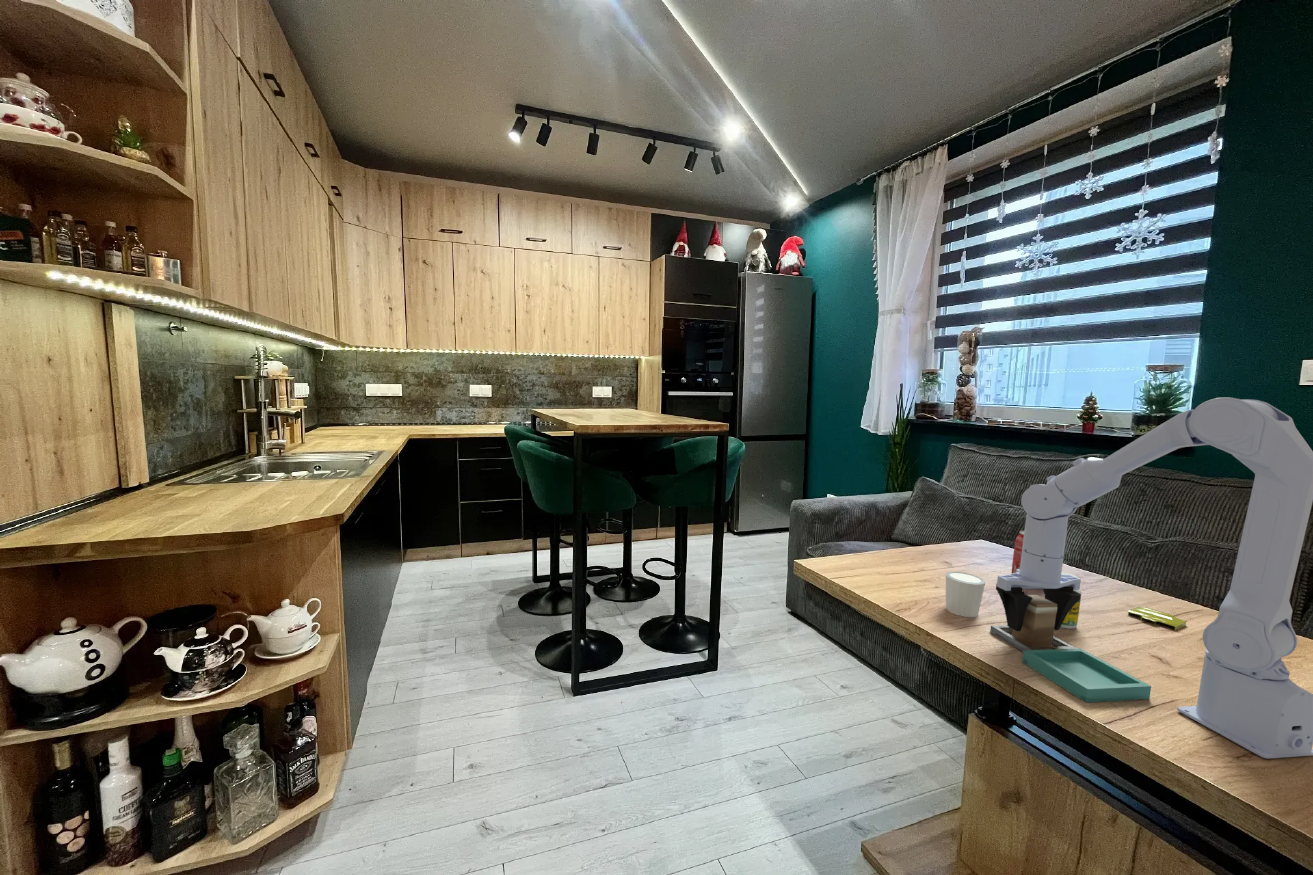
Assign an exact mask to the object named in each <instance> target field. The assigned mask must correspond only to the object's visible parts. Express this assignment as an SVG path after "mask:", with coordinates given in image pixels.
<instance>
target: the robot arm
mask: <svg viewBox="0 0 1313 875" xmlns="http://www.w3.org/2000/svg"><path fill="white" fill-rule="evenodd" d="M1199 446H1211V447H1214V448H1216V449H1219V450H1221V451H1224V452H1225V453H1228V454H1231V455H1232V457H1234V458H1235V459H1236V460H1238V461H1239V462H1240V463H1242V464H1243V465H1244V466H1245V467H1247V468H1248V469H1249V470H1251V472H1253V473H1254V480H1253V484H1252V488H1251V493H1250V498H1249V501H1248V507H1247V511H1246V516H1245V520H1244V524H1243V527H1242V533H1241V538H1240V542H1239V547H1238V551H1237V556H1236V560H1235V565H1234V570H1233V575H1232V578H1231V584H1230V587H1229V591H1228V592H1227V594H1226V596H1225V598H1224V600H1223V601H1222V603H1221V604H1220V607H1219V610H1218V613H1217V617H1216V618H1215V619H1214V620H1213V621H1212V622H1210V623H1209V624H1207V625H1206V627H1205V628H1204V630H1203V632H1202V642H1203V645H1204V647H1205V653H1204V660H1203V663H1202V670H1201V677H1200V684H1199V689H1198V695H1197V701H1196V705H1191V706H1190V705H1189V706H1186V705H1185V706H1178V707H1176V708H1177V709H1176V710H1177V711H1178V712H1179V713H1181V714H1183V715H1184V716H1186V717H1188V718H1190V719H1192V720H1193V721H1194V722H1195V721H1196V722H1198V723H1199V724H1201V725H1203V727H1206V728H1208V729H1210V730H1212V731H1213V732H1215V733H1217V734H1219V735H1220V736H1223V737H1225V738H1227V739H1228V740H1230V741H1232V742H1233V743H1235V744H1236V745H1239V746H1241V747H1242V748H1244V749H1246V750H1248V751H1249V752H1252V753H1254V754H1255V755H1257V756H1259V757H1261V758H1264V759H1267V760H1268V759H1281V758H1293V757H1294V758H1295V757H1306V756H1313V693H1311V692H1310V691H1308V690H1306V689H1304V688H1302V687H1301V686H1299V685H1297V684H1296V683H1295V682H1293V681H1292V679H1290V675H1291V674H1290V671H1289V670H1288V667H1287V666H1286V665H1285V662H1284V661H1283V660H1282V658H1285V657H1286V656H1289V655H1291V654H1293V653H1294V652H1295V650H1296V648H1297V646H1298V636H1297V634H1296V632H1295V629H1294V627H1293V625H1292V617H1293V616H1292V614H1293V608H1292V605H1291V603H1290V599H1291V596H1292V595H1291V594H1292V590H1293V585H1294V582H1295V577H1296V573H1297V569H1298V564H1299V560H1300V556H1301V553H1302V552H1301V551H1302V547H1303V543H1304V539H1305V535H1306V532H1307V527H1308V523H1309V519H1310V514H1311V511H1312V510H1311V509H1312V506H1313V450H1312V448H1311V447H1310V446H1309V444H1308V443H1307V441H1306V440H1305V438H1304V437H1303V436H1302V434H1301V433H1300V431H1299V430H1298V429H1297V427H1296V425H1295V422H1294V419H1293V418H1292V417H1291V416H1289V415H1288V414H1286V413H1285V412H1283V411H1281V410H1280V409H1278V408H1277V407H1274V406H1273V405H1271V404H1270V403H1268V402H1265V401H1263V400H1258V399H1252V398H1251V399H1250V398H1249V399H1240V398H1235V397H1226V396H1225V397H1216V398H1212V399H1209V400H1206V401H1203V402H1202V403H1201V404H1199V405H1198V406H1196V407H1195V409H1188V410H1185V411H1183V412H1180V413H1178V414H1176V415H1175V416H1173V417H1171V418H1169V419H1168V420H1167V421H1165V422H1163V423H1161V424H1160V425H1158V426H1156V427H1155V428H1153V429H1151V430H1149V431H1148V432H1146V433H1145V434H1143V435H1141V436H1139V437H1138V438H1136V439H1134V440H1133V441H1132V442H1130V443H1128V444H1126V445H1125V446H1123V447H1121V448H1120V449H1118V450H1116V451H1114V452H1113V453H1112V454H1110V455H1108V456H1107V457H1105V458H1101V457H1100V458H1099V457H1092V456H1091V457H1087V458H1082V457H1081V458H1077V459H1075V460H1074V461H1072V463H1071V464H1072V465H1073V466H1071V467H1070V468H1068V469H1066V470H1064V471H1063V472H1061V473H1059V474H1058V475H1050V476H1048V477H1046V484H1044V483H1043V484H1042V483H1039V484H1037V483H1035V484H1031V485H1030V486H1029V487H1028V488H1027V489H1026V490H1024V492H1023V493H1022V495H1021V500H1020V502H1021V503H1020V504H1021V506H1022V508H1023V510H1024V511H1025V513H1026V515H1025V516H1026V517H1025V523H1024V530H1023V531H1024V538H1023V547H1022V555H1021V564H1020V569H1016V573H1013V574H1012V573H1009V574H1005V575H997V582H996V583H995V584H996V586H995V589H996V592H997V593H998V595H999V597H1000V600H1001V603H1002V605H1003V609H1004V612H1005V618H1006V625H1008V627H1010V628H1012V629H1014V630H1015V631H1021V629H1022V626H1023V620H1024V615H1025V612H1026V609H1027V607H1028V605H1029V603H1030V602H1031V600H1032V599H1033V598H1032V597H1030V596H1028V595H1029V594H1026V593H1025V591H1023V590H1031V589H1033V590H1037V589H1038V590H1039V589H1040V590H1043V594H1044V598H1045V599H1047V600H1049V601H1051V602H1053V603H1055V604H1057V613H1056V619H1055V626H1054V631H1059V630H1060V628H1061V625H1062V623H1063V621H1064V619H1065V617H1066V615H1067V614H1068V612H1069V611H1070V609H1071V608H1072V607H1073V606H1074V605H1075V604H1076V603H1077V602H1078V601H1079V600H1080V599H1081V598H1082V593H1081V594H1080V593H1078V592H1075V591H1073V589H1074V590H1079V589H1080V590H1081V588H1080V587H1081V580H1082V579H1081V578H1079V577H1078V578H1076V577H1074V576H1071V575H1061V573H1062V572H1063V563H1064V555H1065V548H1066V540H1067V534H1068V531H1067V530H1068V525H1069V524H1068V523H1069V518H1070V516H1072V515H1073V514H1074V513H1075V512H1076V511H1077V509H1078V508H1079V507H1082V506H1084V505H1086V504H1088V503H1089V502H1092V501H1094V500H1096V499H1097V498H1100V497H1102V496H1104V495H1106V494H1109V492H1112V491H1114V490H1116V489H1117V488H1119V487H1120V485H1121V481H1122V476H1123V475H1125V474H1127V473H1130V472H1131V471H1134V470H1136V469H1137V468H1140V467H1142V466H1144V465H1146V464H1148V463H1151V462H1153V461H1155V460H1157V459H1159V458H1161V457H1163V456H1166V455H1168V454H1170V453H1171V452H1174V451H1176V450H1178V449H1182V448H1186V447H1187V448H1188V447H1199ZM1080 601H1081V600H1080Z"/></svg>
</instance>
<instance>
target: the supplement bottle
mask: <svg viewBox="0 0 1313 875" xmlns="http://www.w3.org/2000/svg"><path fill="white" fill-rule="evenodd" d="M1061 575H1071V576H1074V577H1076V578H1079V577H1078V576H1077V575H1074V574H1071V573H1069V572H1068V573H1066V572H1063V571H1062V573H1061ZM1073 591H1075V592H1078V593H1080V594H1081V595H1082V591H1081V588H1080V589H1079V590H1074V589H1073ZM1080 607H1081V599H1080V600H1079V601H1078V602H1077V603H1076V604H1075V605H1074V606H1073V607H1072V608H1071V609H1070V611H1069V612H1068V614H1067V615H1066V617H1065V619H1064V621H1063V623H1062V625H1061V627H1060V628H1061V629H1067V630H1068V629H1069V630H1072V629H1073V630H1074V629H1076V628H1077V626H1078V622H1079V614H1080Z"/></svg>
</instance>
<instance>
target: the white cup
mask: <svg viewBox="0 0 1313 875" xmlns="http://www.w3.org/2000/svg"><path fill="white" fill-rule="evenodd" d="M985 586H986V580H985V579H984V578H982V577H980V576H977V575H974V574H972V573H966V572H962V571H961V572H960V571H948V572H946V573H945V609H946V611H948V612H950V613H952V614H954V615H956V616H960V617H966V618H976V617H978V616H979V613H980V607H981V603H982V598H983V595H984V594H983V593H984V592H985V591H984V590H985Z"/></svg>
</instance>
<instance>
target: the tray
mask: <svg viewBox="0 0 1313 875" xmlns="http://www.w3.org/2000/svg"><path fill="white" fill-rule="evenodd" d="M1022 664H1025V665H1026V666H1028V667H1029V668H1031V669H1033V670H1034V671H1036V672H1037V673H1039V674H1041V675H1042V676H1043V677H1045V678H1047V679H1048V680H1050V681H1052V682H1053V683H1054V684H1057V685H1058V686H1059V687H1061V688H1062V687H1063V689H1064V688H1065V689H1064V690H1065V691H1067V692H1069V693H1071V694H1072V695H1074V696H1075V697H1076V698H1078V699H1079V700H1082V701H1083V702H1084V703H1103V702H1104V701H1106V702H1122V700H1123V702H1124V701H1138V700H1139V699H1144V700H1150V697H1151V690H1152V686H1151V685H1149V684H1148V683H1146V682H1144V681H1142V680H1141V679H1138V678H1137V677H1135V676H1133V675H1131V674H1129V673H1128V672H1126V671H1123V670H1122V669H1120V668H1118V667H1116V666H1114V665H1113V664H1110V663H1109V662H1107V661H1104V660H1103V659H1101V658H1099V657H1097V656H1095V655H1093V654H1092V653H1090V652H1088V651H1086V650H1085V649H1082V648H1077V649H1049V650H1024V652H1022ZM1135 699H1136V700H1135ZM1137 699H1138V700H1137ZM1101 701H1102V702H1101ZM1139 701H1140V700H1139Z"/></svg>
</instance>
